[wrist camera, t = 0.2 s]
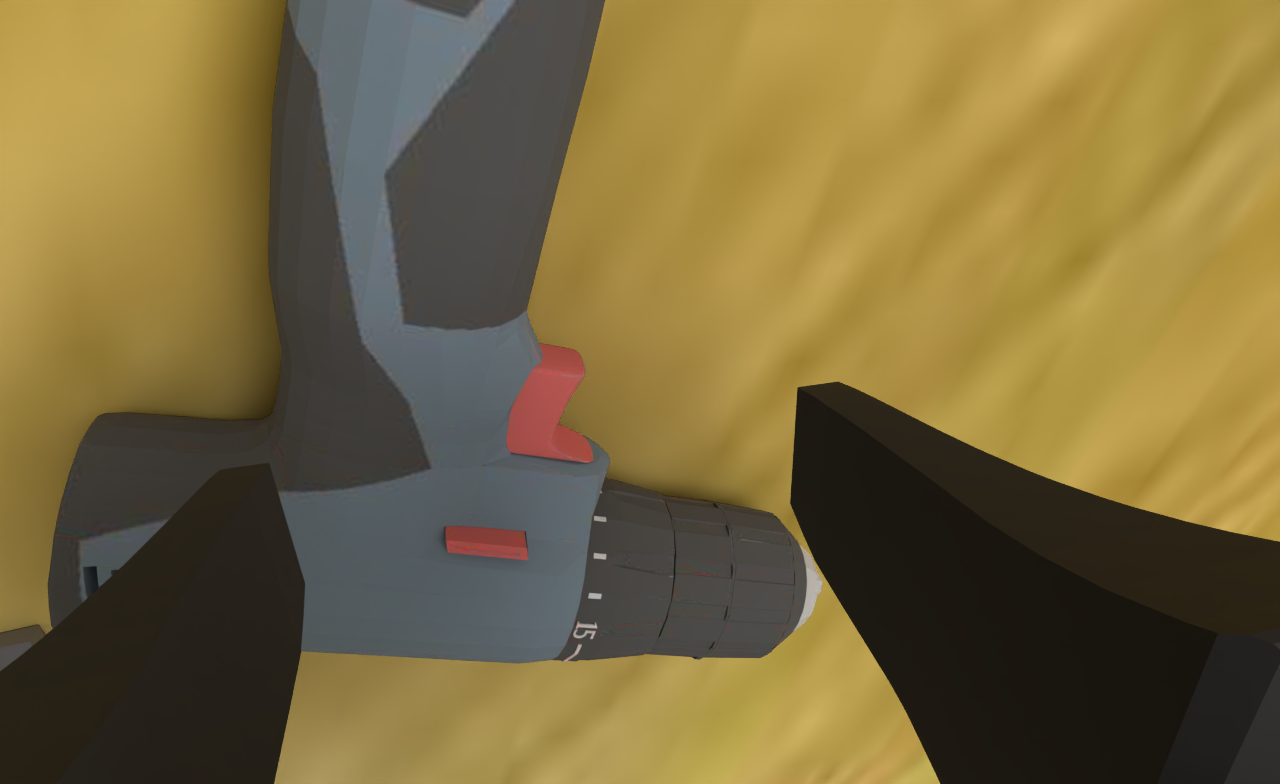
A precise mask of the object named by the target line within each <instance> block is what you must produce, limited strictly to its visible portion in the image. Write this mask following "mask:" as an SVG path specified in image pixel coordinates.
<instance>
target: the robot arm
mask: <svg viewBox="0 0 1280 784" xmlns="http://www.w3.org/2000/svg"><path fill="white" fill-rule="evenodd" d="M790 504H791V506H792V509H793V511H794V513H795V516H796V518H797V521H798V523H799V525H800V528H801V530H802V533H803V535H804V537H805V540H806V542H807V544H808V546H809V548H810V551H811V553H812V555H813V557H814V560H815V561H816V563H817V565H818V566H819V568H820V570H821V572H822V573H823V575H824V577H825V578H826V580H827V581H828V583H829V585H830V586H831V588H832V590H833V591H834V593H835V595H836V596H837V598H838V600H839V601H840V603H841V605H842V606H843V608H844V609H845V611H846V613H847V614H848V616H849V617H850V619H851V621H852V622H853V624H854V625H855V627H856V629H857V630H858V632H859V634H860V635H861V637H862V638H863V640H864V642H865V643H866V645H867V646H868V648H869V650H870V651H871V653H872V654H873V656H874V658H875V659H876V661H877V663H878V664H879V666H880V667H881V669H882V671H883V672H884V674H885V675H886V677H887V679H888V680H889V682H890V684H891V685H892V687H893V689H894V691H895V693H896V694H897V696H898V698H899V700H900V702H901V703H902V705H903V707H904V709H905V710H906V712H907V715H908V717H909V719H910V721H911V723H912V725H913V727H914V729H915V731H916V733H917V735H918V737H919V740H920V742H921V744H922V746H923V748H924V750H925V752H926V754H927V756H928V758H929V760H930V762H931V765H932V767H933V769H934V771H935V773H936V775H937V777H938V780H939V782H940V784H1280V542H1278V541H1273V540H1268V539H1263V538H1258V537H1253V536H1248V535H1243V534H1238V533H1233V532H1228V531H1224V530H1220V529H1215V528H1211V527H1207V526H1202V525H1198V524H1194V523H1190V522H1186V521H1182V520H1179V519H1175V518H1171V517H1168V516H1164V515H1160V514H1157V513H1153V512H1149V511H1146V510H1142V509H1138V508H1135V507H1131V506H1128V505H1125V504H1121V503H1118V502H1115V501H1112V500H1108V499H1105V498H1102V497H1099V496H1096V495H1094V494H1091V493H1088V492H1085V491H1082V490H1079V489H1076V488H1073V487H1071V486H1068V485H1065V484H1062V483H1059V482H1056V481H1053V480H1051V479H1048V478H1046V477H1043V476H1040V475H1038V474H1035V473H1033V472H1030V471H1028V470H1025V469H1023V468H1021V467H1018V466H1016V465H1014V464H1011V463H1009V462H1007V461H1004V460H1002V459H1000V458H997V457H995V456H993V455H990V454H988V453H986V452H984V451H981V450H979V449H977V448H975V447H973V446H971V445H968V444H966V443H964V442H962V441H960V440H958V439H956V438H954V437H952V436H950V435H947V434H945V433H943V432H941V431H939V430H937V429H935V428H933V427H931V426H929V425H927V424H925V423H923V422H921V421H919V420H917V419H915V418H913V417H911V416H909V415H907V414H905V413H903V412H901V411H899V410H897V409H896V408H894V407H892V406H890V405H888V404H886V403H884V402H882V401H880V400H878V399H876V398H874V397H872V396H869V395H867V394H865V393H863V392H861V391H859V390H857V389H855V388H852V387H850V386H848V385H845V384H843V383H840V382H832V383H825V384H818V385H811V386H804V387H798V390H797V405H796V421H795V437H794V453H793V469H792V484H791V500H790ZM304 599H305V581H304V578H303V574H302V571H301V568H300V564H299V561H298V558H297V554H296V551H295V548H294V544H293V541H292V537H291V534H290V531H289V527H288V524H287V521H286V517H285V514H284V511H283V507H282V504H281V501H280V497H279V494H278V491H277V487H276V484H275V481H274V477H273V474H272V471H271V467H270V464H269V463H263V464H256V465H249V466H242V467H235V468H228V469H221V470H219V471H217V472H216V473H215V474H214V475H213V476H212V477H211V478H210V479H209V480H208V481H207V482H206V483H205V484H204V485H203V486H202V487H201V488H200V489H199V490H198V491H197V492H196V493H195V494H194V495H193V496H192V497H191V498H190V499H189V500H188V501H187V502H186V503H185V504H184V505H183V506H182V507H181V508H180V509H179V510H178V511H177V512H176V513H175V514H174V515H173V516H172V517H171V518H170V519H169V520H168V521H167V522H166V523H165V524H164V525H163V526H162V527H161V528H160V529H159V530H158V531H157V532H156V533H155V534H154V535H153V536H152V537H151V538H150V539H149V540H148V541H147V542H146V543H145V544H144V545H143V546H142V547H141V548H140V549H139V550H138V551H137V552H136V553H135V554H134V555H133V556H132V557H131V558H130V559H129V560H128V561H127V562H126V563H125V564H124V565H123V566H122V567H121V568H120V569H119V570H118V571H117V572H116V573H114V574H113V575H112V576H111V577H110V578H109V579H108V580H107V581H106V582H105V583H103V584H102V585H101V586H100V587H99V588H98V589H97V590H96V591H95V592H94V593H92V594H91V595H90V596H89V597H88V598H87V599H86V600H85V601H84V602H83V603H81V604H80V605H79V606H78V607H77V608H76V609H75V610H74V611H73V612H72V613H70V614H69V615H68V616H67V617H66V618H65V619H64V620H63V621H62V622H61V623H59V624H58V625H57V626H56V627H55V628H54V629H52V630H51V631H50V632H49V633H48V634H46V635H45V636H44V637H43V638H42V639H40V640H39V641H38V642H37V643H36V644H34V645H33V646H32V647H31V648H29V649H28V650H27V651H26V652H24V653H23V654H22V655H21V656H20V657H18V658H17V659H16V660H14V661H13V662H12V663H10V664H9V665H8V666H6V667H5V668H4V669H3V670H1V671H0V784H274V781H275V776H276V771H277V767H278V762H279V757H280V752H281V748H282V743H283V738H284V733H285V729H286V724H287V719H288V714H289V710H290V705H291V700H292V695H293V690H294V685H295V680H296V675H297V670H298V665H299V660H300V654H301V645H302V632H303V618H304Z"/></svg>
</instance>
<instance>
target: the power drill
mask: <svg viewBox="0 0 1280 784" xmlns="http://www.w3.org/2000/svg"><path fill="white" fill-rule="evenodd" d="M604 3H605V0H287V1H286V9H285V17H284V25H283V32H282V40H281V48H280V56H279V64H278V71H277V79H276V87H275V95H274V103H273V113H272V146H271V179H270V211H269V244H268V260H269V277H270V284H271V291H272V297H273V303H274V309H275V314H276V320H277V326H278V332H279V338H280V344H281V365H280V377H279V387H278V392H277V397H276V402H275V407H274V411H273V413H272V414H271V415H269V416H267V417H265V418H264V419H247V420H220V419H207V418H194V417H181V416H168V415H155V414H142V413H105V414H101V415H99V416H98V417H97V418H96V419H95V420H94V422H93V423H92V425H91V426H90V427H89V429H88V431H87V432H86V434H85V436H84V438H83V440H82V441H81V443H80V445H79V448H78V450H77V453H76V456H75V459H74V461H73V464H72V467H71V470H70V473H69V476H68V480H67V483H66V486H65V490H64V493H63V497H62V500H61V504H60V508H59V513H58V518H57V523H56V528H55V532H54V539H53V547H52V556H51V564H50V571H49V579H48V598H49V611H50V619H51V626H52V628H53V629H54V628H55V627H56V626H57V625H58V624H59V623H61V622H62V621H63V620H64V619H65V618H66V617H67V616H68V615H69V614H70V613H72V612H73V611H74V610H75V609H76V608H77V607H78V606H79V605H80V604H81V603H83V602H84V601H85V600H86V599H87V598H88V597H89V596H90V595H91V594H92V593H94V592H95V591H96V590H97V589H98V588H99V587H100V586H101V585H102V584H103V583H105V582H106V581H107V580H108V579H109V578H110V577H111V576H112V575H113V574H114V573H116V572H117V571H118V570H119V569H120V568H121V567H122V566H123V565H124V564H125V563H126V562H127V561H128V560H129V559H130V558H131V557H132V556H133V555H134V554H135V553H136V552H137V551H138V550H139V549H140V548H141V547H142V546H143V545H144V544H145V543H146V542H147V541H148V540H149V539H150V538H151V537H152V536H153V535H154V534H155V533H156V532H157V531H158V530H159V529H160V528H161V527H162V526H163V525H164V524H165V523H166V522H167V521H168V520H169V519H170V518H171V517H172V516H173V515H174V514H175V513H176V512H177V511H178V510H179V509H180V508H181V507H182V506H183V505H184V504H185V503H186V502H187V501H188V500H189V499H190V498H191V497H192V496H193V495H194V494H195V493H196V492H197V491H198V490H199V489H200V488H201V487H202V486H203V485H204V484H205V483H206V482H207V481H208V480H209V479H210V478H211V477H212V476H213V475H214V474H215V473H216V472H217V471H219V470H221V469H228V468H235V467H242V466H249V465H256V464H263V463H269V464H270V467H271V471H272V474H273V477H274V481H275V484H276V487H277V491H278V494H279V497H280V501H281V504H282V507H283V511H284V514H285V517H286V521H287V524H288V527H289V531H290V534H291V537H292V541H293V544H294V548H295V551H296V554H297V558H298V561H299V564H300V568H301V571H302V574H303V578H304V581H305V599H304V618H303V632H302V645H301V651H306V652H324V653H342V654H360V655H378V656H396V657H413V658H431V659H449V660H467V661H485V662H503V663H526V662H536V661H546V660H561V661H563V662H566V661H578V660H596V659H606V658H616V657H627V656H637V655H644V654H654V655H670V656H686V657H693V658H694V659H701V658H703V657H716V658H761V657H763V656H765V655H767V654H768V653H770V652H772V650H773V649H774V648H775V647H776V646H778V645H779V644H780V643H781V642H782V641H783V640H784V639H786V638H787V637H788V636H789V635H790V634H791V633H793V632H794V631H795V630H796V629H798V628H799V627H800V626H801V625H803V624H804V622H805V621H806V620H807V619H808V618H809V616H810V615H811V614H812V612H813V609H814V605H815V602H816V598H817V593H819V594H820V593H821V587H822V580H821V578H820V576H819V574H818V572H817V571H816V568H815V565H814V562H813V559H812V557H811V556H810V555H809V554H808V553H807V552H806V551H805V550H804V549H803V548H802V546H801V545H800V544H799V543H798V542H797V540H796V539H795V538H794V536H793V535H792V534H791V533H790V532H789V531H788V529H787V528H786V527H785V526H784V525H783V524H782V523H781V521H780V520H779V519H778V518H777V517H776V516H774V515H773V513H769V512H765V511H762V510H756V509H750V508H745V507H739V506H734V505H728V504H722V503H717V502H711V501H706V500H695V499H688V498H680V497H672V496H664V495H660V494H659V493H658V492H655V491H652V490H648V489H644V488H641V487H637V486H634V485H630V484H626V483H623V482H619V481H615V480H612V479H608V478H605V476H606V473H607V470H608V467H609V464H610V458H609V456H608V453H607V452H605V451H604V450H603V449H602V448H601V447H600V446H599V445H598V444H596V443H595V442H593V441H592V440H590V439H589V438H587V437H586V436H583V435H580V434H579V433H577V432H575V431H573V430H571V429H569V428H566V427H564V426H562V425H559V424H558V422H559V420H560V418H561V415H562V413H563V411H564V409H565V407H566V405H567V403H568V401H569V399H570V398H571V396H572V394H573V393H574V391H575V389H576V388H577V386H578V385H579V383H580V382H581V381H582V379H583V378H584V376H585V366H584V362H583V359H582V357H581V355H580V354H579V353H578V352H577V351H576V350H573V349H569V348H563V347H558V346H552V345H547V344H541V343H538V340H537V338H536V336H535V333H534V331H533V329H532V326H531V324H530V321H529V318H528V315H527V306H528V302H529V298H530V294H531V290H532V286H533V282H534V278H535V274H536V270H537V266H538V262H539V258H540V254H541V250H542V246H543V242H544V238H545V234H546V230H547V226H548V222H549V218H550V214H551V210H552V206H553V202H554V198H555V194H556V190H557V186H558V182H559V179H560V175H561V171H562V168H563V164H564V160H565V156H566V153H567V149H568V145H569V142H570V138H571V134H572V130H573V127H574V123H575V119H576V116H577V112H578V108H579V105H580V101H581V97H582V93H583V90H584V86H585V82H586V79H587V75H588V71H589V66H590V62H591V58H592V54H593V49H594V45H595V41H596V37H597V32H598V28H599V24H600V20H601V15H602V11H603V7H604Z"/></svg>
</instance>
